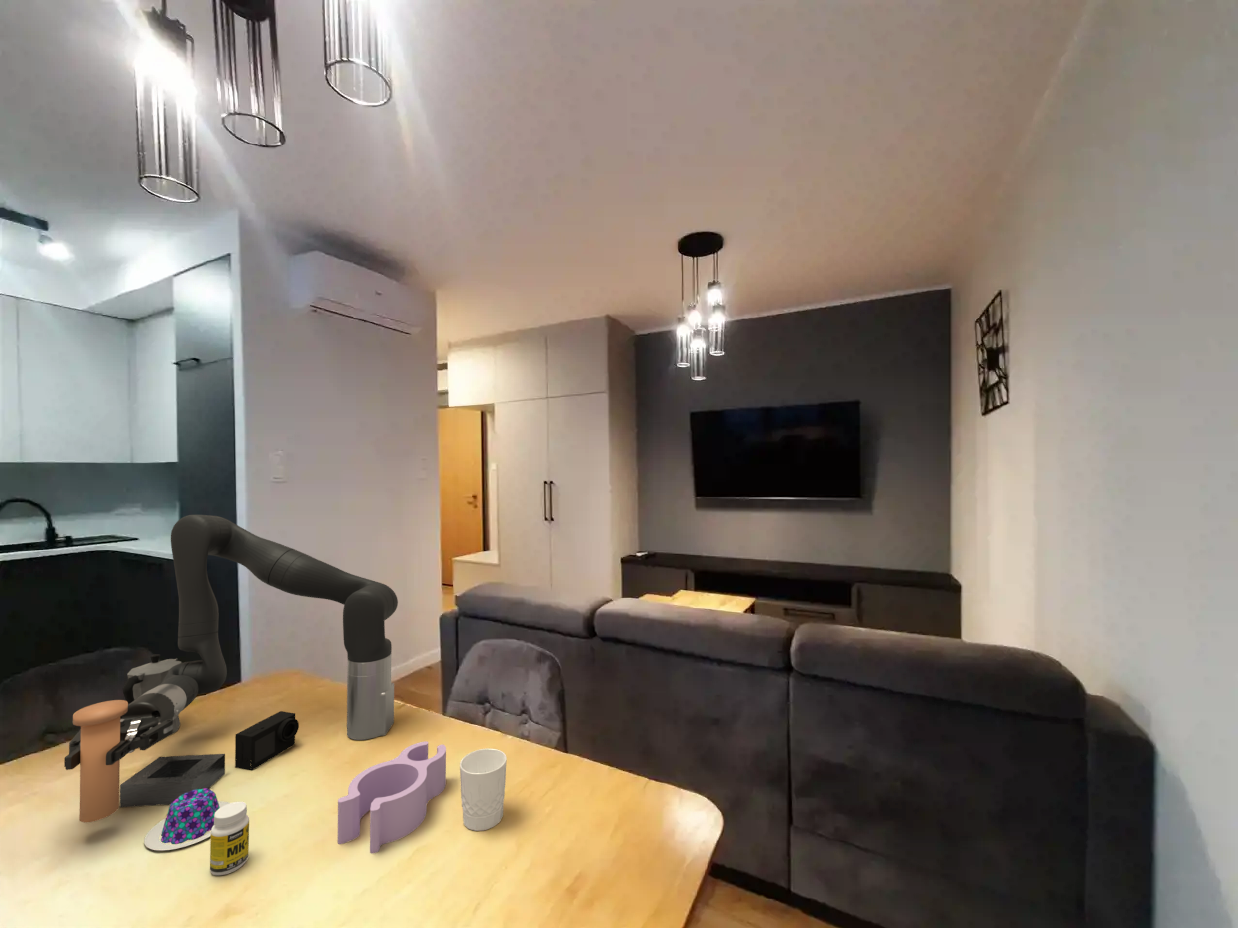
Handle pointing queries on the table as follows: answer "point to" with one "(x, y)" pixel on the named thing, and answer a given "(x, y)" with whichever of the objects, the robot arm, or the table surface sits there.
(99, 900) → the table surface
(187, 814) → the pudding
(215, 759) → the frame
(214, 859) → the supplement bottle
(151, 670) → the coffeepot
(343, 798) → the clip
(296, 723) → the digital camera
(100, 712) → the orange capped cylinder
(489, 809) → the white cup
